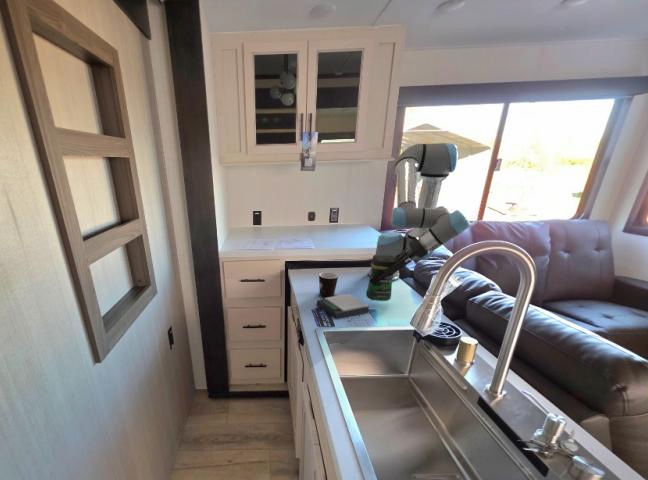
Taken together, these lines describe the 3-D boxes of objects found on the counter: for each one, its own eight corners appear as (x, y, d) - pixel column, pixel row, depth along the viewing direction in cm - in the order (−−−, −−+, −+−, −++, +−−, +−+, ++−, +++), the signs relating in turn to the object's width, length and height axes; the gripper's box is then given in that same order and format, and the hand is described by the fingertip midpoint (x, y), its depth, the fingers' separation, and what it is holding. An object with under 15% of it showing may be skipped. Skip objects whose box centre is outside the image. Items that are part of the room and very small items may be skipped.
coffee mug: (336, 299, 142) (338, 279, 138) (317, 298, 144) (318, 277, 139) (335, 290, 152) (337, 270, 148) (317, 289, 154) (319, 269, 150)
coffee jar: (368, 301, 129) (374, 257, 121) (364, 294, 136) (370, 252, 129) (392, 302, 128) (400, 258, 120) (387, 294, 135) (394, 253, 128)
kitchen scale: (347, 299, 142) (348, 293, 141) (368, 312, 130) (369, 305, 129) (316, 305, 137) (317, 298, 135) (335, 319, 125) (336, 311, 123)
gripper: (416, 231, 126) (369, 264, 139) (417, 243, 109) (363, 280, 121) (428, 245, 126) (380, 277, 139) (431, 260, 109) (375, 295, 121)
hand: (372, 278), depth 130 cm, fingers closed on coffee jar, 8 cm apart
